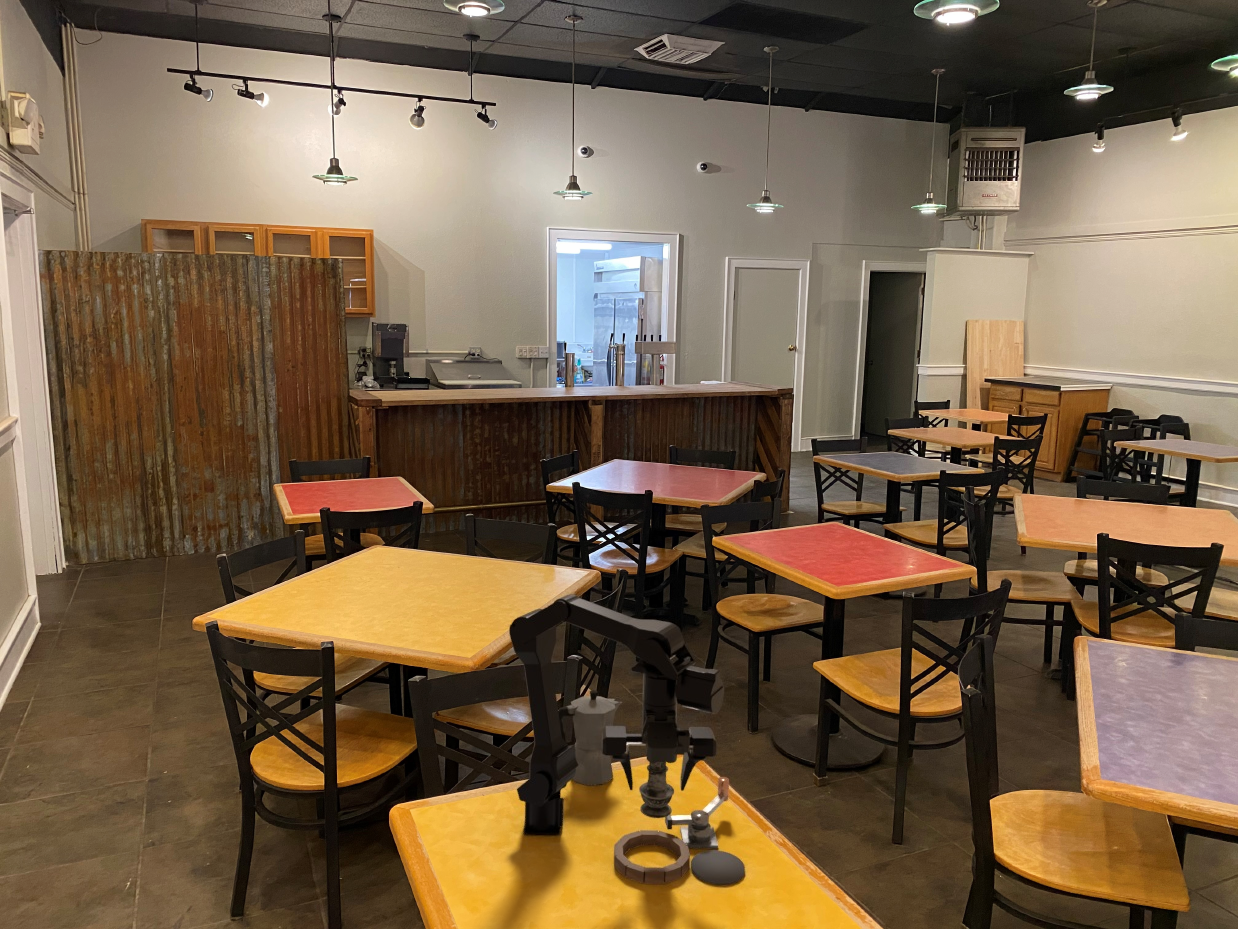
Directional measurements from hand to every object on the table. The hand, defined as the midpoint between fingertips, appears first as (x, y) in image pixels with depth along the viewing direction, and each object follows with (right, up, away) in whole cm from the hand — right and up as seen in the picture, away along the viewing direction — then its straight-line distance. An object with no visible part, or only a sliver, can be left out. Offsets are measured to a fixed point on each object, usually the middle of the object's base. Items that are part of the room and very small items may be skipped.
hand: (656, 789), depth 145 cm
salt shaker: (0, -4, 0) cm, 4 cm away
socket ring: (-1, -13, +2) cm, 13 cm away
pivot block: (+8, -12, +9) cm, 17 cm away
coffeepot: (-13, -9, +31) cm, 35 cm away
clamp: (+8, -9, +12) cm, 17 cm away
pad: (+10, -13, 0) cm, 17 cm away
